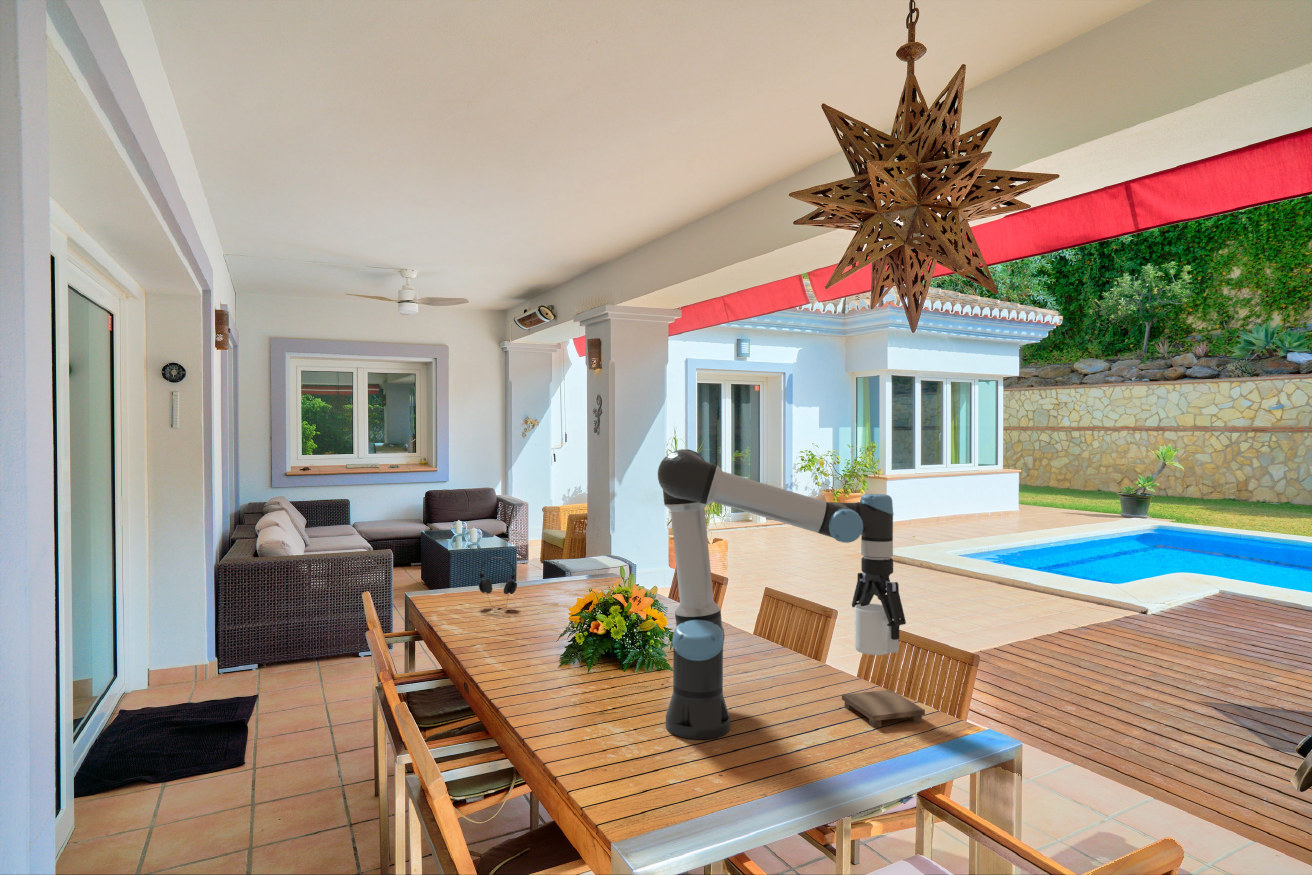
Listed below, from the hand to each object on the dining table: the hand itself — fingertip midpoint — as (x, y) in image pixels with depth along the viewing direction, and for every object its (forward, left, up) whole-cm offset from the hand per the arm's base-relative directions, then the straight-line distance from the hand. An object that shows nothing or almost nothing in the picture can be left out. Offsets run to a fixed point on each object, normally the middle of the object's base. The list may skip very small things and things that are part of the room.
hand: (877, 644), depth 176 cm
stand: (0, -1, -17) cm, 17 cm away
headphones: (-86, +129, -17) cm, 155 cm away
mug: (0, 0, -2) cm, 2 cm away
